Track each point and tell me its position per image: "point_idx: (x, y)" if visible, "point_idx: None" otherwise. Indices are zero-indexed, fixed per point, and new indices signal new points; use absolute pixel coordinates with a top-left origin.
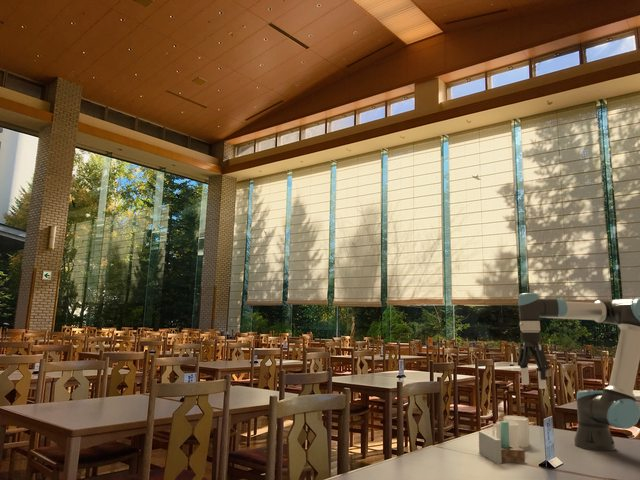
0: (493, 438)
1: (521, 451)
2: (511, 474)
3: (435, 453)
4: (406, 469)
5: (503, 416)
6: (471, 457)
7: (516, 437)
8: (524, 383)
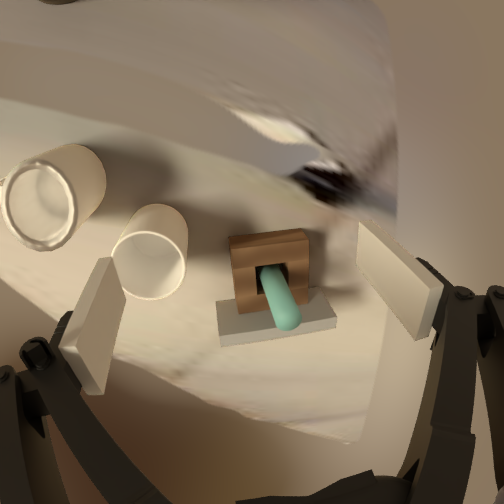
0: (317, 329)
1: (307, 246)
2: None
3: (242, 385)
4: (347, 410)
5: (27, 247)
6: None
7: (177, 227)
8: (120, 293)
